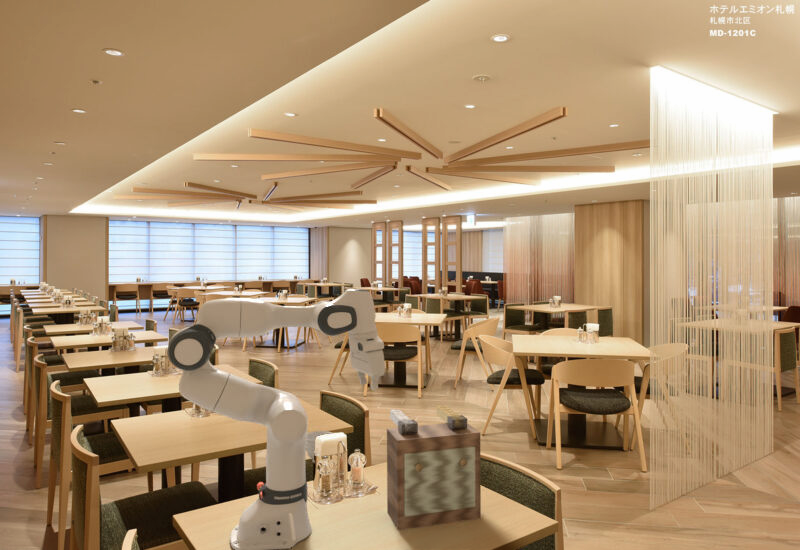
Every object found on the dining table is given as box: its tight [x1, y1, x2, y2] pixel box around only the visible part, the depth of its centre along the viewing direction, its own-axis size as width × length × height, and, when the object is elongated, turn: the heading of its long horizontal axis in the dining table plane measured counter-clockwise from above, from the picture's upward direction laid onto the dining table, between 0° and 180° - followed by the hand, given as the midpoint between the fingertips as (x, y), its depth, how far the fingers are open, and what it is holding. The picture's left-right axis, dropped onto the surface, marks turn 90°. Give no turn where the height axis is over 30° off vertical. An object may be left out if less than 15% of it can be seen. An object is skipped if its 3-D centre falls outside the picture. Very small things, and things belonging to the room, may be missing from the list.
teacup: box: [306, 430, 333, 464], centre depth 209 cm, size 12×15×10 cm
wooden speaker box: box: [386, 422, 482, 531], centre depth 161 cm, size 26×14×26 cm, turn 106°
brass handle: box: [435, 404, 468, 430], centre depth 170 cm, size 5×17×3 cm, turn 16°
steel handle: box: [389, 408, 419, 435], centre depth 166 cm, size 5×17×3 cm, turn 16°
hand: (369, 387), depth 160 cm, fingers open, 8 cm apart
